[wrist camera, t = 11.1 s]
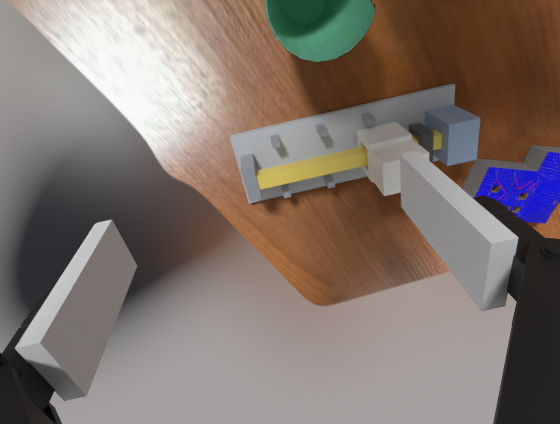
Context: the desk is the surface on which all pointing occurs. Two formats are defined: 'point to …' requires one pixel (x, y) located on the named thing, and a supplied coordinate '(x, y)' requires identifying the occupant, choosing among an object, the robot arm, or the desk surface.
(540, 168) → the house
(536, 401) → the robot arm
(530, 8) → the desk surface
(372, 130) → the sleeve
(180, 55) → the desk surface
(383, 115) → the comb rig
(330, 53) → the mug
